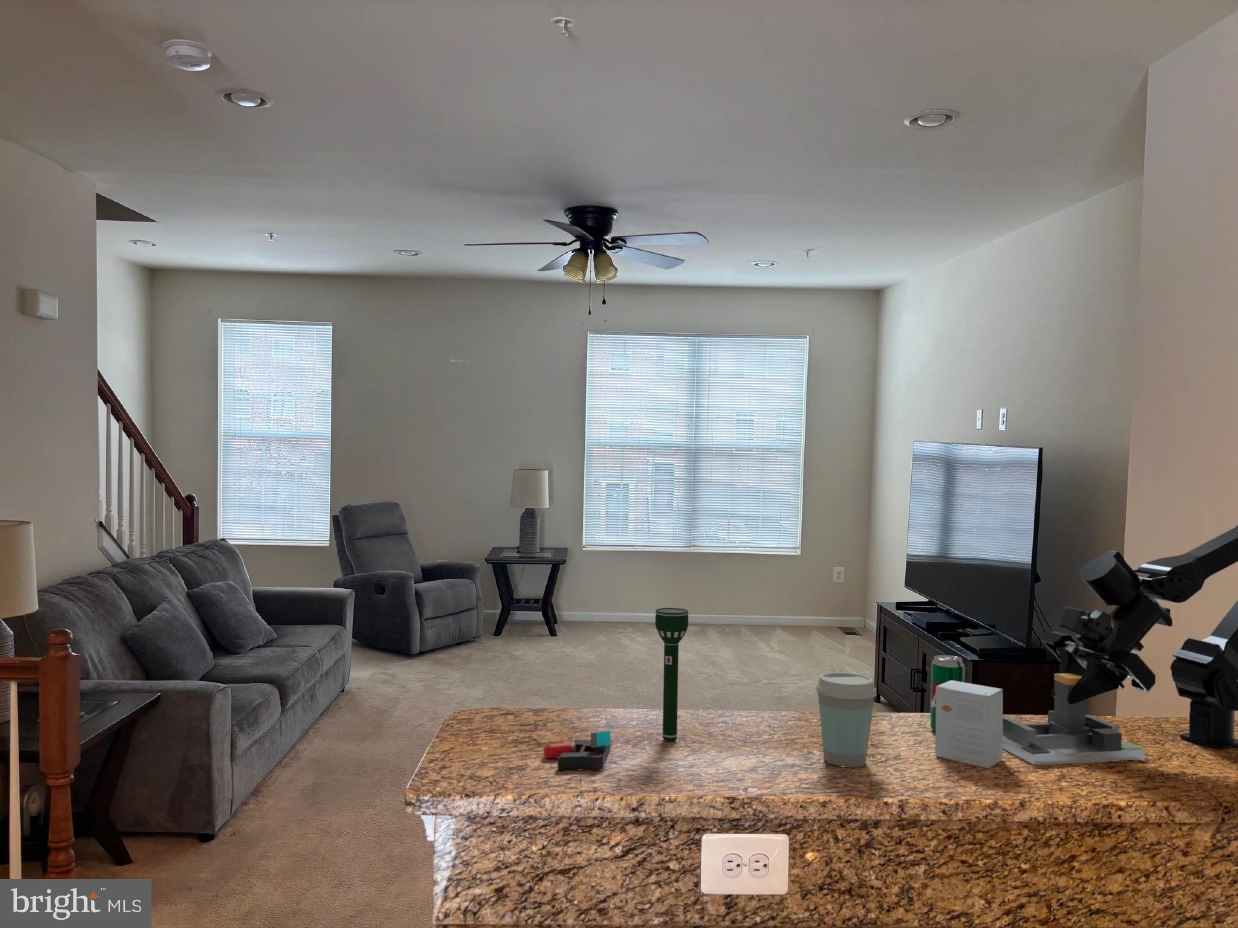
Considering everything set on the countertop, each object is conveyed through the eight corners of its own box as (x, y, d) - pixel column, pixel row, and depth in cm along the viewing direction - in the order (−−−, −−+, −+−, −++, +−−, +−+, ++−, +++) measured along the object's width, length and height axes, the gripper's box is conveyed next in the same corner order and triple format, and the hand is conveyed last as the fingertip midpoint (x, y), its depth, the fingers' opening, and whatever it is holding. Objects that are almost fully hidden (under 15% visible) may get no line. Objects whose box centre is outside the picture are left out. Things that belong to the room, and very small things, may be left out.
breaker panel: (1082, 733, 142) (1083, 708, 142) (1144, 759, 129) (1144, 732, 129) (980, 737, 139) (981, 712, 139) (1033, 765, 126) (1034, 737, 126)
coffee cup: (879, 756, 129) (880, 675, 129) (870, 775, 121) (871, 688, 121) (821, 748, 132) (822, 668, 132) (808, 765, 124) (810, 680, 125)
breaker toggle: (1071, 732, 137) (1072, 672, 137) (1089, 740, 133) (1090, 678, 133) (1048, 733, 136) (1049, 672, 136) (1066, 741, 132) (1067, 679, 132)
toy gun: (615, 748, 131) (616, 716, 131) (605, 776, 120) (606, 741, 120) (551, 744, 132) (552, 713, 132) (536, 772, 121) (536, 737, 121)
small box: (1003, 760, 128) (1004, 688, 128) (989, 769, 124) (990, 695, 124) (949, 747, 134) (950, 678, 134) (934, 756, 129) (935, 685, 129)
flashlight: (648, 742, 133) (650, 611, 133) (659, 733, 138) (662, 606, 138) (680, 747, 131) (682, 614, 131) (690, 737, 136) (692, 609, 136)
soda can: (966, 737, 139) (967, 662, 139) (932, 735, 140) (934, 660, 140) (960, 728, 144) (961, 655, 144) (928, 726, 145) (929, 653, 145)
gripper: (1053, 581, 144) (991, 650, 142) (1139, 599, 126) (1069, 677, 124) (1094, 628, 146) (1034, 697, 144) (1186, 652, 127) (1118, 731, 125)
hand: (1060, 699), depth 134 cm, fingers closed on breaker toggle, 3 cm apart
